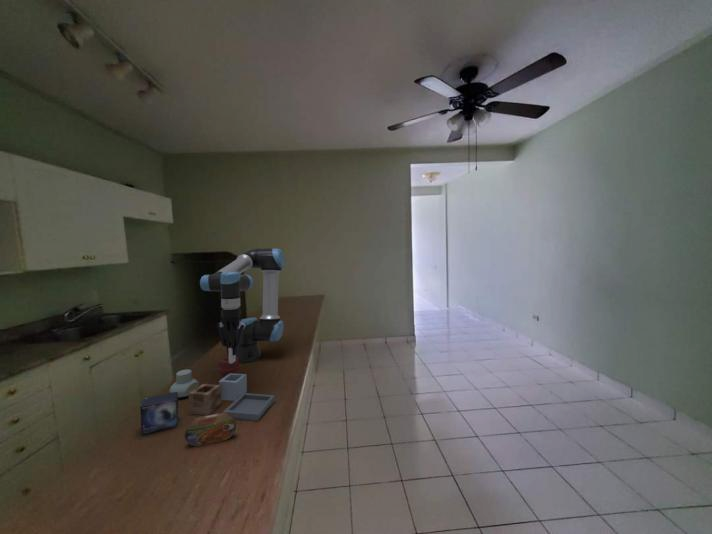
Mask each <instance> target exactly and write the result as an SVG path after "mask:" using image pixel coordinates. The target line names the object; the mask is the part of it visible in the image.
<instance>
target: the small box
mask: <svg viewBox="0 0 712 534" xmlns="http://www.w3.org/2000/svg"><path fill="white" fill-rule="evenodd" d="M139 410H140V427H141V428H140V432H141V433H140V434H141V436H145V435H148V434H153V433H157V432H162V431H165V430H170V429H175V428H178V424H179V418H180V417H179V397H178V392H174V393H170V392H169V393H163V394H159V395H153V396H149V397H143V399H142V401H141V404H140V408H139Z"/></svg>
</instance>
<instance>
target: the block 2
mask: <svg viewBox="0 0 712 534" xmlns="http://www.w3.org/2000/svg"><path fill="white" fill-rule="evenodd" d="M247 380H248V379H247V374H246V373H237V374H234V373H230V374H228V375H227V376H225V377H224V378H223V379H221V378H220V380H218V385H221V401H230V402H231V401H233V402H234V401H235V400H237V399H238V398H239V397H240V396H241V395H242V394H243V393H248V381H247Z"/></svg>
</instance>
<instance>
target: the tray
mask: <svg viewBox="0 0 712 534" xmlns="http://www.w3.org/2000/svg"><path fill="white" fill-rule="evenodd" d="M275 402H276V395H275V394H261V393H251V392H250V393H249V392H246V393H243V394H242V395H241V396H240V397H239V398H238V399H237V400H235V401H233V402H232V403H231V404H230V405H229V406H227V408H226V409H224V410H223V412H222V413H230V414H232V415H233V416H234V417H235V419H236V420H239V421H240V420H241V421H252V422H260V420H261V419H262V417H263V416H265V414H266V412H267V411H269V409H270V408H271V407H272V405H273V404H274V403H275Z"/></svg>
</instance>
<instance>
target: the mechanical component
mask: <svg viewBox="0 0 712 534" xmlns="http://www.w3.org/2000/svg"><path fill="white" fill-rule="evenodd" d="M240 368H241V363H238V357H236V361H235V362H233V363H229V355H227V356H225V357H222V358H220V359H219V361H218V366H217V369H216V370H217V372H218V373H219V374H220V375H221V377H220V380H221V379H223V378H224V377H225V376H227V375H228V374H230V373H234V374H238V370H240Z"/></svg>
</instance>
